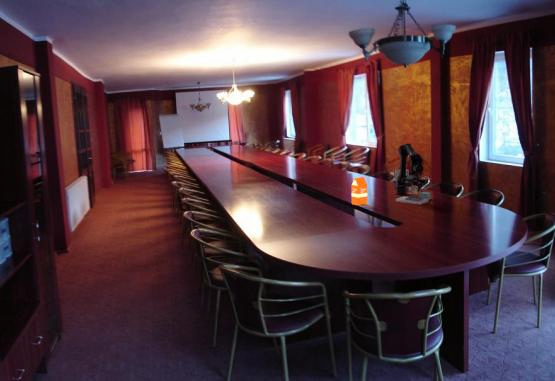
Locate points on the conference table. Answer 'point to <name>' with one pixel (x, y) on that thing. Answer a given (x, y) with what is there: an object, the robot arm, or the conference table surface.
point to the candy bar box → (397, 173)
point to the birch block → (413, 190)
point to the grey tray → (412, 200)
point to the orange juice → (359, 191)
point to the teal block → (425, 195)
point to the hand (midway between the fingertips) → (414, 192)
